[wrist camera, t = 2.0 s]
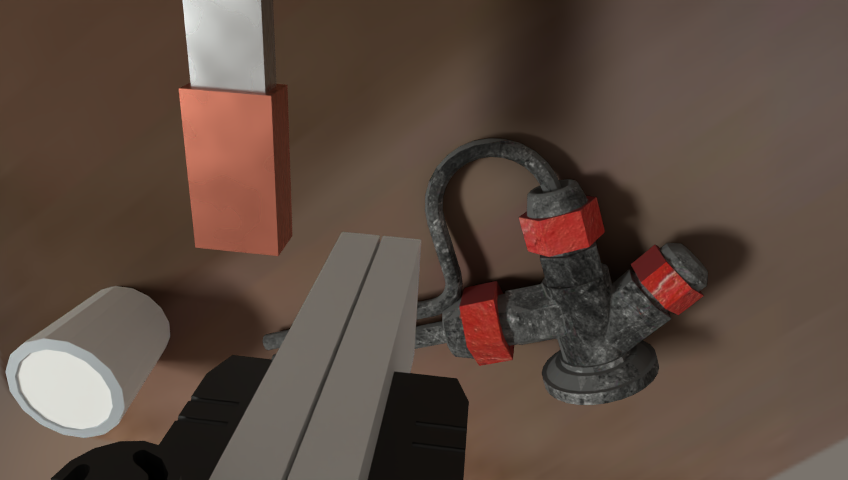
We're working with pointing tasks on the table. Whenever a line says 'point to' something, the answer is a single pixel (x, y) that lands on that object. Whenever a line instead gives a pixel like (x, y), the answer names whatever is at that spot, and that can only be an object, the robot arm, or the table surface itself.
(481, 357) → the valve
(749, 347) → the table surface
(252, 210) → the lever
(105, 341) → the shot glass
